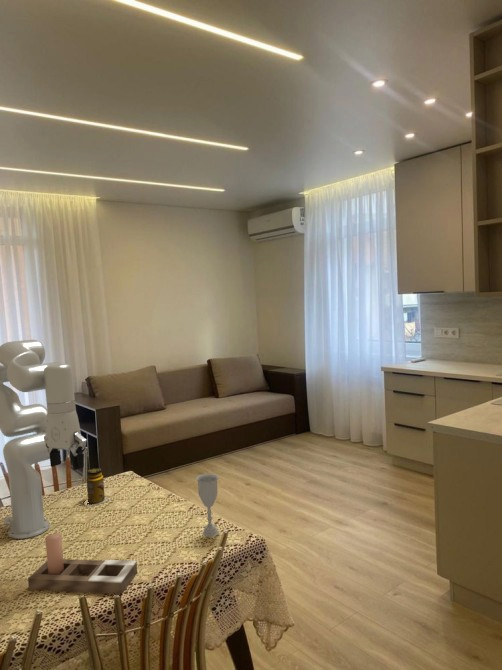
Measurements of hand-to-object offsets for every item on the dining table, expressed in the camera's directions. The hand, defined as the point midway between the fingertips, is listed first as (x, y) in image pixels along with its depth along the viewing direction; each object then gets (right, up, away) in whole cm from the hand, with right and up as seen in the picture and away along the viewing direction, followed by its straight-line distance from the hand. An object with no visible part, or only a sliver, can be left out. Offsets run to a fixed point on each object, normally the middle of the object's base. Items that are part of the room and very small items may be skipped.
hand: (67, 466), depth 141 cm
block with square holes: (+8, -28, -9) cm, 31 cm away
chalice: (+40, -25, +15) cm, 49 cm away
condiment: (-7, -26, +45) cm, 52 cm away
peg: (0, -29, -7) cm, 30 cm away
